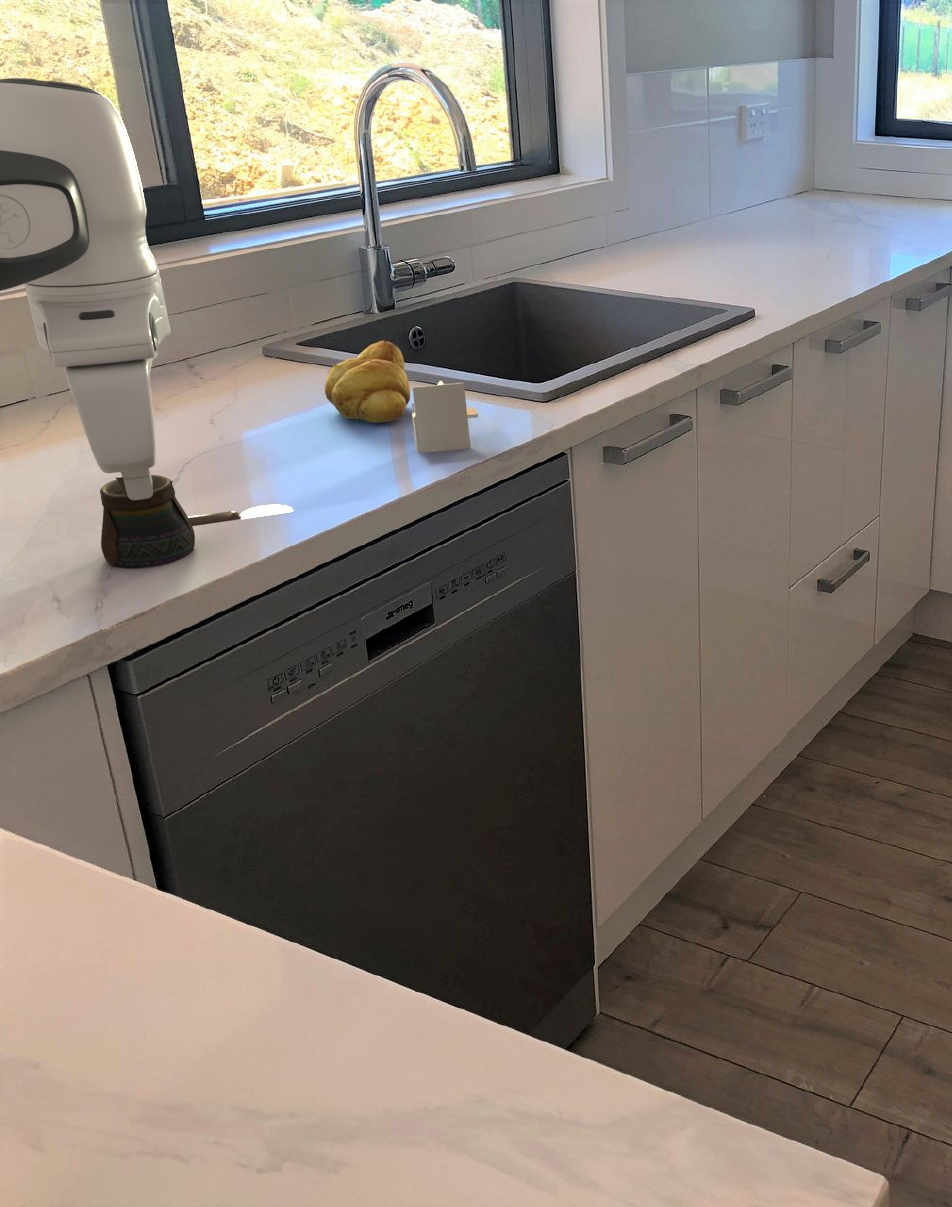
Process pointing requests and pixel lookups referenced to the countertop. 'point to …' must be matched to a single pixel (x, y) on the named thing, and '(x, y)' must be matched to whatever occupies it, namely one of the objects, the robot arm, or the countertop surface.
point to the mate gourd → (144, 526)
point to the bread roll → (370, 384)
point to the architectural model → (441, 417)
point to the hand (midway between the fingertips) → (141, 494)
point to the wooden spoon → (236, 516)
